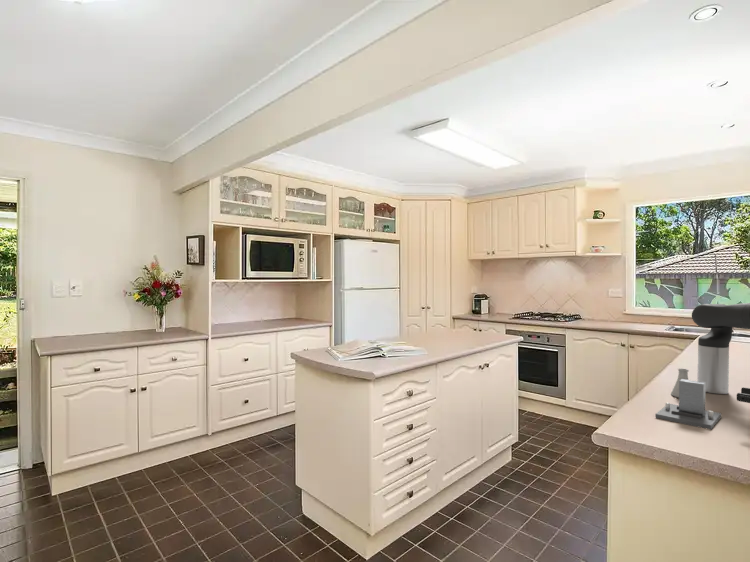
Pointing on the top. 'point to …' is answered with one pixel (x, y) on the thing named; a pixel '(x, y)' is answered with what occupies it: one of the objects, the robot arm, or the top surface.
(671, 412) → the gray docking base
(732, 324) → the robot arm
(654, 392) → the top surface
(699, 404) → the drive
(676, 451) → the top surface
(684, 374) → the flask
